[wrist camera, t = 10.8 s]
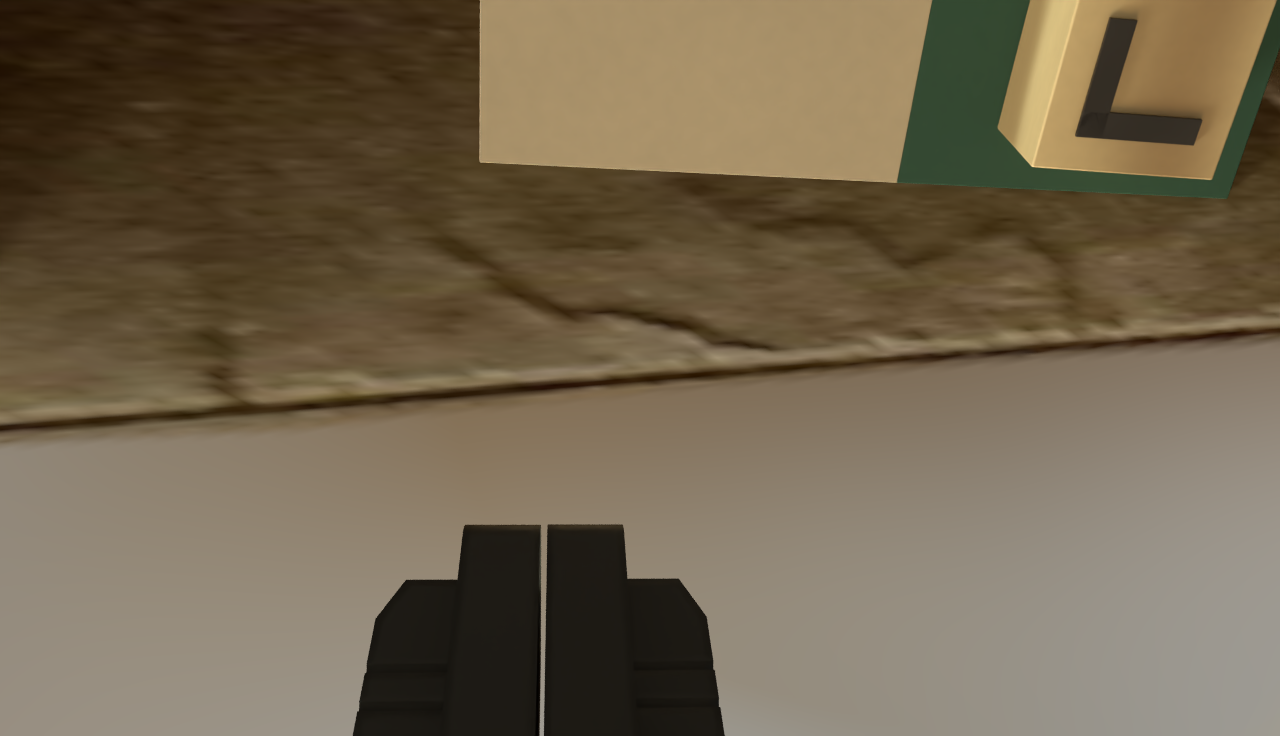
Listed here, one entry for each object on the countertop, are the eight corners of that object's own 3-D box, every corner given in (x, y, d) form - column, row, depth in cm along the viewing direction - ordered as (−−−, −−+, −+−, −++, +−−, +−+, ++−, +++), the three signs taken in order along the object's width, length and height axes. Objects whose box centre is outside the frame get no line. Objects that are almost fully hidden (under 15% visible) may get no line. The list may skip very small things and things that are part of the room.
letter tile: (996, 128, 34) (1032, 169, 31) (1043, -54, 31) (1087, -27, 29) (1164, 141, 34) (1214, 182, 32) (1223, -38, 32) (1283, -10, 29)
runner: (479, 159, 34) (479, 162, 34) (481, -189, 29) (480, -188, 29) (1224, 196, 36) (1227, 199, 35) (1336, -127, 31) (1340, -126, 31)
